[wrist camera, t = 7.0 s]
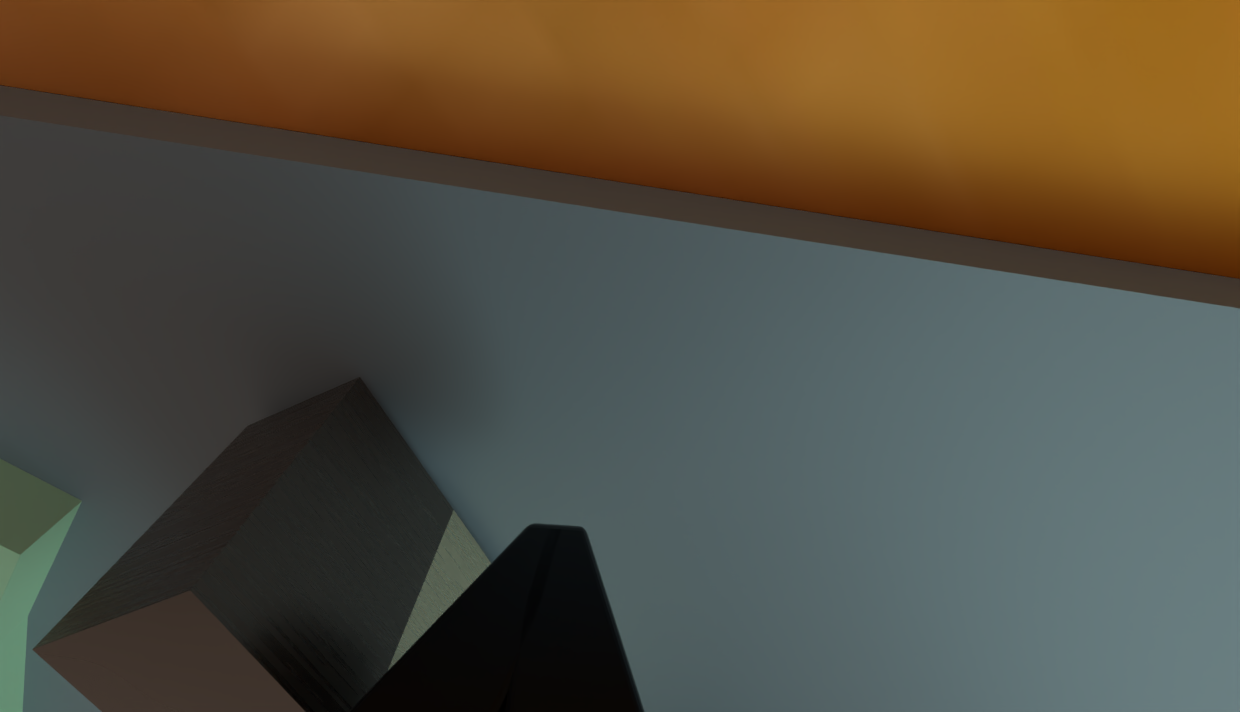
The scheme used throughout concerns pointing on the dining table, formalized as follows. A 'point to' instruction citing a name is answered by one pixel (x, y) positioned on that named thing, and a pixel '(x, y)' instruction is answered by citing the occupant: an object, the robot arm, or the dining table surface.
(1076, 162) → the dining table surface
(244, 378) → the board
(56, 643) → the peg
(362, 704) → the robot arm
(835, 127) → the dining table surface
